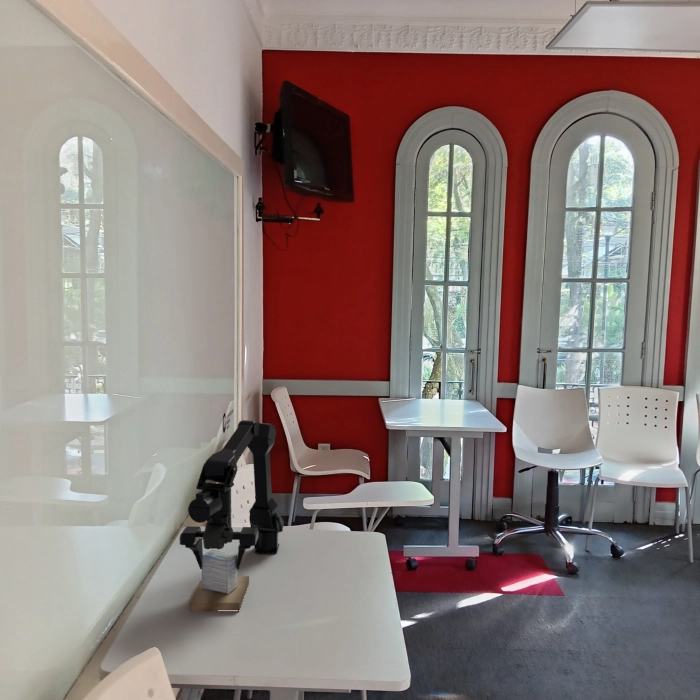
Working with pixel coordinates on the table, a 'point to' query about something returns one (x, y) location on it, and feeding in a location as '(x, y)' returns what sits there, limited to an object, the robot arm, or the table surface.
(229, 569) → the medicine box
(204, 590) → the flat brown cardboard box
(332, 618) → the table surface
